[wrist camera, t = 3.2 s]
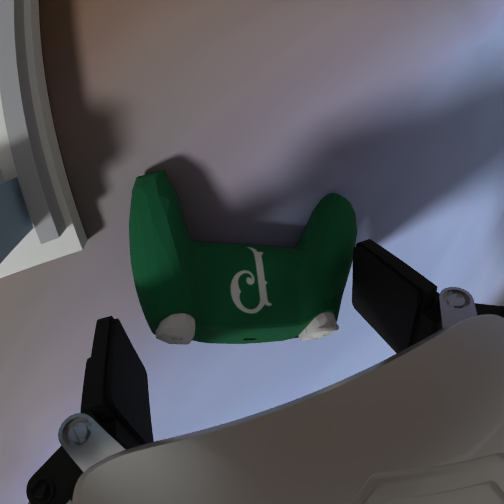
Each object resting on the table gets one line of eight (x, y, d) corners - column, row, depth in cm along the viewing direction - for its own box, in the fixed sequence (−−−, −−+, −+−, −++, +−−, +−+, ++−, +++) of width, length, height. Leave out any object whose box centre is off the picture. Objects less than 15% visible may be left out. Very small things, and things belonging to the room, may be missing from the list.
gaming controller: (134, 209, 13) (127, 345, 11) (136, 158, 10) (120, 336, 8) (316, 226, 16) (331, 340, 14) (357, 190, 13) (384, 327, 11)
